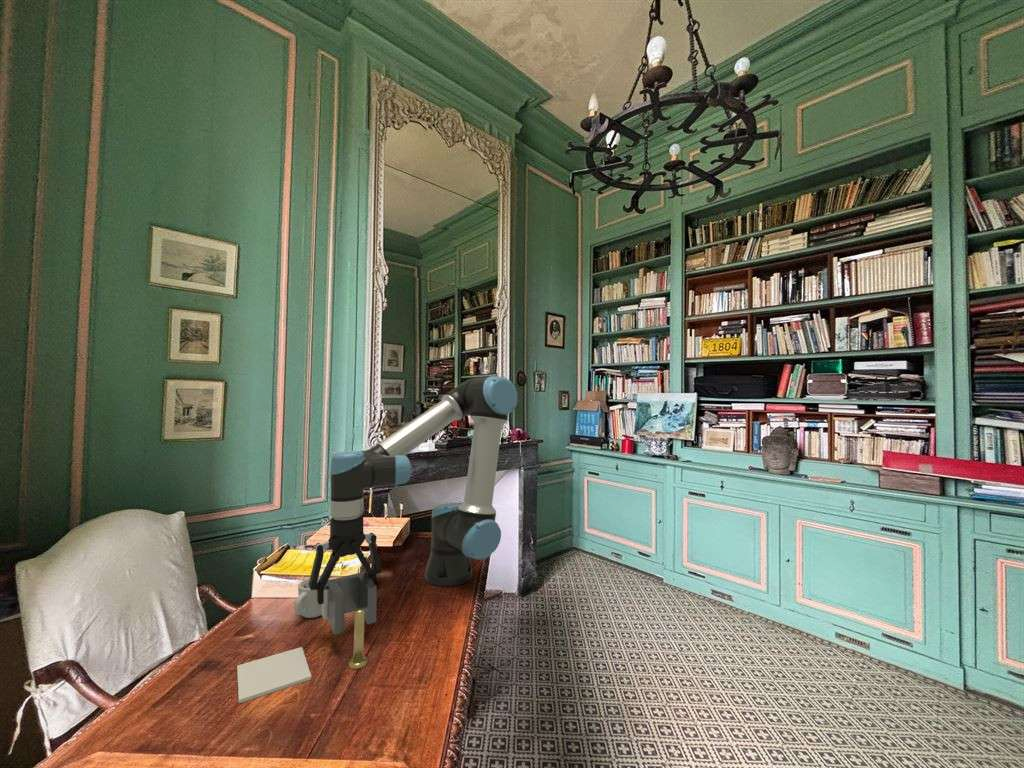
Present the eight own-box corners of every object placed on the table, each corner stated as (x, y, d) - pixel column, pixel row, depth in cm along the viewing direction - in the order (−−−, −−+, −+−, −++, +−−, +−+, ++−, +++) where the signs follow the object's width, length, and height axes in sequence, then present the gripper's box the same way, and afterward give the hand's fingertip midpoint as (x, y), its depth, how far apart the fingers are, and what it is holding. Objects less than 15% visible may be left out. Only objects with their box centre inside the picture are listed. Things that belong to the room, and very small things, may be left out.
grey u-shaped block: (364, 604, 102) (364, 571, 102) (376, 621, 94) (376, 586, 94) (325, 615, 97) (325, 580, 97) (334, 634, 89) (334, 597, 89)
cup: (309, 629, 99) (310, 595, 100) (281, 625, 101) (282, 591, 102) (336, 608, 110) (338, 577, 111) (310, 604, 112) (312, 574, 112)
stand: (364, 656, 89) (366, 604, 90) (369, 665, 86) (370, 611, 87) (346, 662, 87) (349, 608, 87) (351, 671, 84) (353, 616, 85)
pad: (301, 649, 91) (302, 646, 91) (311, 679, 81) (311, 676, 81) (237, 668, 84) (237, 665, 84) (238, 703, 74) (238, 700, 74)
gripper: (386, 505, 109) (386, 591, 108) (294, 520, 96) (293, 617, 95) (396, 511, 103) (395, 603, 102) (299, 528, 90) (298, 632, 89)
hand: (346, 610), depth 99 cm, fingers closed on grey u-shaped block, 9 cm apart
